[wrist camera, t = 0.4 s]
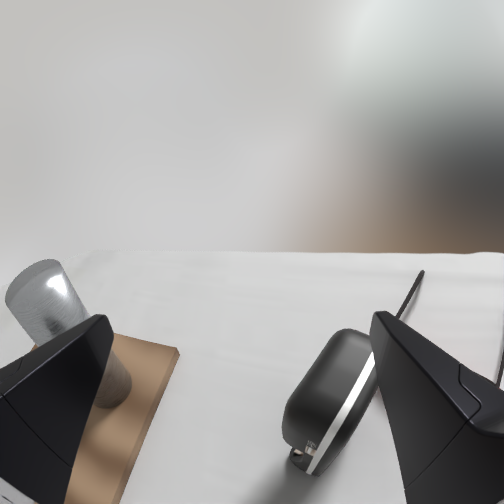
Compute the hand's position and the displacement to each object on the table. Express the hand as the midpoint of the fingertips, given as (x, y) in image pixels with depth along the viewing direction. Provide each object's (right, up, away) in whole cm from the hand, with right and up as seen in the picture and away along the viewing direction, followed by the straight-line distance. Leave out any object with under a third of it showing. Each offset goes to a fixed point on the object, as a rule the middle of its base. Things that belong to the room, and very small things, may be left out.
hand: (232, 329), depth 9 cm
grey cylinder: (-13, -10, +14) cm, 21 cm away
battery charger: (+6, -12, +11) cm, 17 cm away
